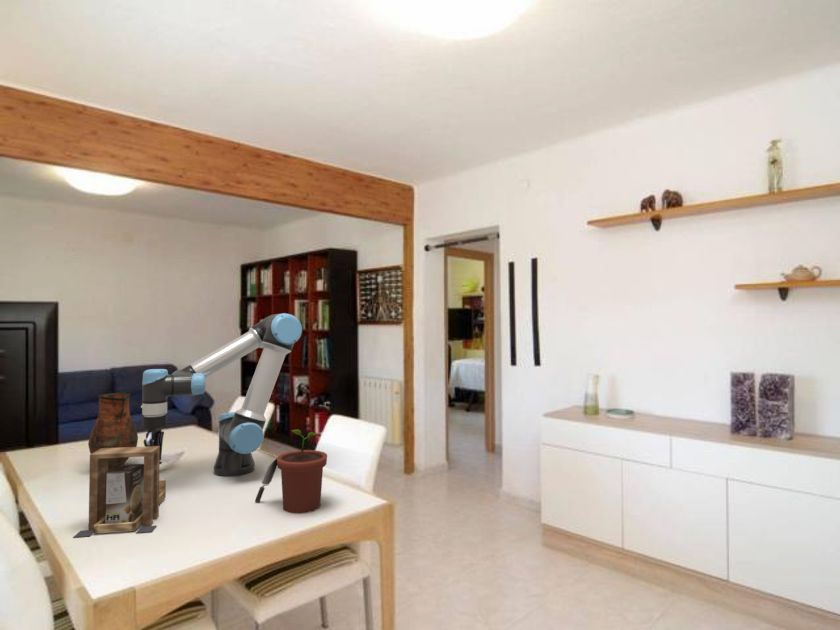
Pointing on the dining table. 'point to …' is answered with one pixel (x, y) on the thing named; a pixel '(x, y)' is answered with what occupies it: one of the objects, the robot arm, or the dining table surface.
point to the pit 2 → (146, 529)
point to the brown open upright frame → (100, 475)
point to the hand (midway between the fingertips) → (153, 484)
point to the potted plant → (298, 478)
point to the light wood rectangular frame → (128, 526)
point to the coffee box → (124, 493)
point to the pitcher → (113, 427)
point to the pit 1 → (84, 533)
